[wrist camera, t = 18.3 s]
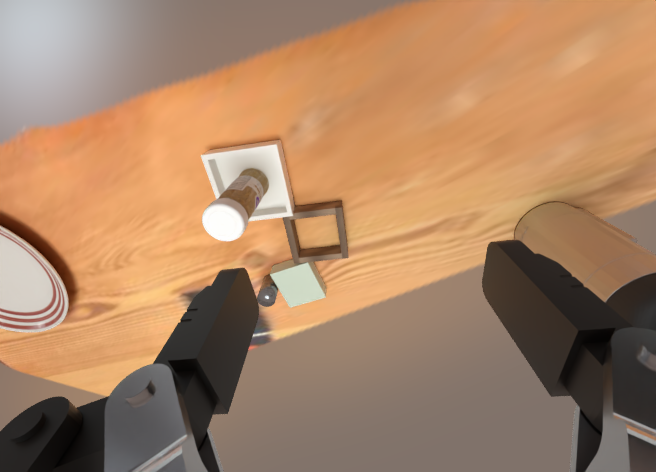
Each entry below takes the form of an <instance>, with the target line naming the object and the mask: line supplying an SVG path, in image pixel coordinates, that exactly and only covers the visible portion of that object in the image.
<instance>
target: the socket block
mask: <svg viewBox="0 0 656 472" xmlns="http://www.w3.org/2000/svg"><path fill="white" fill-rule="evenodd" d="M334 214H336V218H337V225H338V232H339V239H340V245H339V246H330V247H320V248H311V249H302V250H300V245H299V241H298V236H297V232H296V228H295V223H294V219H301V218H309V217H317V216H326V215H334ZM283 221H284V225H285V229H286V233H287V237H288V241H289V245H290V249H291V253H292V257H293V261H294V264H295V263H304V262H314V261H323V260H333V259H342V258H348V247H347V239H346V231H345V224H344V216H343V208H342V201H335V202H327V203H319V204H311V205H303V206H295V209H294V212H293V216H288V217H283Z"/></svg>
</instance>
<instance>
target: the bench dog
mask: <svg viewBox="0 0 656 472" xmlns="http://www.w3.org/2000/svg"><path fill="white" fill-rule="evenodd" d="M277 292H278V287H277V285H276V284H275V282H274V281H273V279H272V277H271V276H270V275H267V276H265V277H264V280H263V283H262V286H261V288H260V291H259V294H258V297H257V301H258V303H259V304H261V305H262V306H266V307H268V306H272V305H273V304H274V303H275V300H276V296H277Z"/></svg>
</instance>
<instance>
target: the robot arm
mask: <svg viewBox="0 0 656 472" xmlns="http://www.w3.org/2000/svg"><path fill="white" fill-rule="evenodd" d="M482 287H483V292H484V295H485V297H486V299H487V300H488V302H489V304H490V305H491V307H492V308H493V310H494V312H495V313H496V315H497V316H498V317H499V319H500V320H501V322H502V323H503V325H504V327H505V328H506V329H507V331H508V333H509V334H510V336H511V337H512V339H513V340H514V342H515V343H516V345H517V346H518V348H519V349H520V350H521V352H522V354H523V355H524V357H525V358H526V360H527V361H528V363H529V364H530V366H531V367H532V369H533V370H534V372H535V373H536V375H537V376H538V378H539V379H540V381H541V382H542V384H543V385H544V387H545V388H546V390H547V391H548V393H549V394H550V395H551V396H572V398H573V399H574V400H575V402H576V403H577V404H578V405H577V407H576V409H575V413H574V424H573V437H572V451H571V462H570V472H656V254H655V253H653V252H651V251H649V250H648V249H646V248H644V247H642V246H640V245H639V244H637V240H636V238H634V237H633V236H631V235H629V234H627V233H626V232H624V231H622V230H620V229H618V228H616V227H615V226H613V225H611V224H609V223H607V222H606V221H604V220H602V219H600V218H598V217H597V216H595V215H593V214H591V213H589V212H587V211H586V210H584V209H582V208H574V207H572V206H570V205H568V204H566V203H562V202H551V203H546V204H543V205H540V206H538V207H536V208H534V209H533V210H531V211H530V212H528V213H527V214H526V215H525V216H524V217H523V218H522V219H521V221H520V222H519V224H518V225H517V227H516V230H515V240H506V241H497V242H491V243H490V244H489V245H488V248H487V254H486V260H485V267H484V273H483V279H482ZM258 315H259V306H258V301H257V298H256V295H255V293H254V290H253V287H252V284H251V281H250V278H249V276H248V273H247V271H246V269H245V268H236V269H227V270H221V271H220V272H219V274H218V275H217V277H216V279H215V280H214V282H213V284H212V286H207V287H206V288H205V289H203V290H202V291H201V292H200V293H199V294H198V295H197V296H196V297H195V298H194V299H193V301H192V302H191V304H190V306H189V307H188V309H187V312H185V314H184V315H183V317H182V318H181V322H180V323H178V325H177V326H176V328H175V329H174V331H173V333H172V334H171V336H170V337H169V339H168V341H167V342H166V344H165V345H164V347H163V348H162V350H161V352H160V353H159V355H158V356H157V358H156V360H155V361H154V363H153V364H151V365H147V366H144V367H142V368H140V369H138V370H136V371H134V372H133V373H131V374H130V375H128V376H127V377H126V378H125V379H123V380H122V381H121V382H120V383H119V384H118V385H117V386H116V388H115V389H114V390H113V391H112V393H111V394H110V396H108V397H106V398H103V399H100V400H97V401H94V402H91V403H89V404H86V405H83V406H80V407H77V408H76V407H75V406H73V404H72V403H71V402H70V401H69V400H68V399H66V398H64V397H52V398H49V399H46V400H43V401H41V402H39V403H37V404H35V405H33V406H31V407H30V408H28V409H27V410H25V411H23V412H22V413H21V414H19V415H18V416H17V417H15V418H14V419H13V420H12V421H11V422H10V423H8V424H7V425H6V426H5V427H4V428H3V429H2V430H1V431H0V472H223V468H222V465H221V462H220V459H219V456H218V453H217V450H216V447H215V443H214V440H213V437H212V434H211V431H210V429H209V428H208V426H209V423H210V421H211V418H212V415H213V414H228V412H229V408H230V405H231V402H232V399H233V396H234V393H235V390H236V386H237V383H238V380H239V377H240V374H241V371H242V367H243V364H244V361H245V358H246V355H247V352H248V349H249V346H250V342H251V339H252V336H253V333H254V330H255V327H256V323H257V320H258Z"/></svg>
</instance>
